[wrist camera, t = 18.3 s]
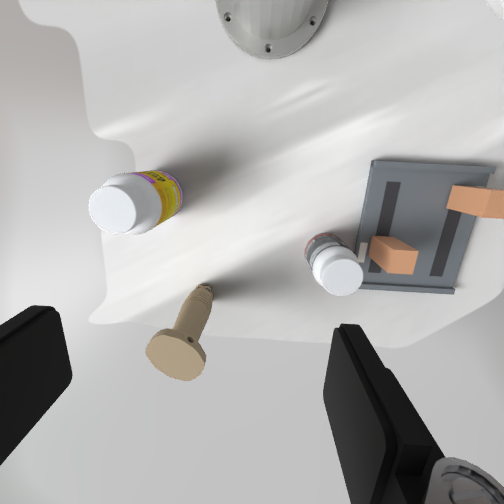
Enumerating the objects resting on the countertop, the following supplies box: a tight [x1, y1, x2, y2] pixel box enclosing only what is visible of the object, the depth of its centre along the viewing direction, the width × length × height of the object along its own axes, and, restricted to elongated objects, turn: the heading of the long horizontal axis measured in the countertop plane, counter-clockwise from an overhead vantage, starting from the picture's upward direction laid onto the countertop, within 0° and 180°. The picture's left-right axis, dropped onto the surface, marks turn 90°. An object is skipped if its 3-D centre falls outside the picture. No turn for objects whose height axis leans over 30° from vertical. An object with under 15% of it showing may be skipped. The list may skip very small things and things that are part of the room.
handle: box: [146, 285, 213, 381], centre depth 35 cm, size 5×6×15 cm
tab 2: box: [446, 185, 504, 219], centre depth 32 cm, size 3×3×6 cm
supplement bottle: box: [89, 171, 183, 235], centre depth 32 cm, size 7×7×13 cm
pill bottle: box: [305, 233, 363, 296], centre depth 35 cm, size 6×6×10 cm
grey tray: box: [354, 161, 496, 294], centre depth 37 cm, size 18×15×2 cm
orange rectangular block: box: [368, 236, 419, 275], centre depth 35 cm, size 3×3×6 cm
